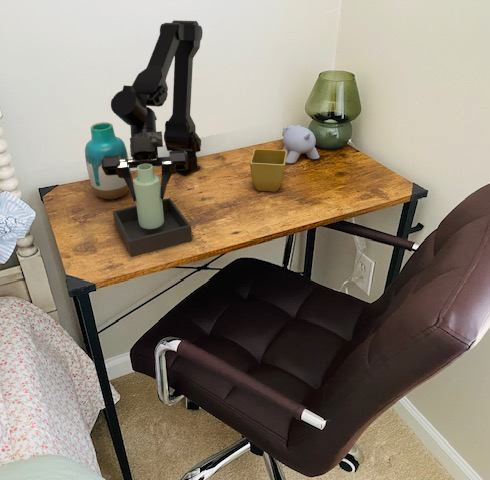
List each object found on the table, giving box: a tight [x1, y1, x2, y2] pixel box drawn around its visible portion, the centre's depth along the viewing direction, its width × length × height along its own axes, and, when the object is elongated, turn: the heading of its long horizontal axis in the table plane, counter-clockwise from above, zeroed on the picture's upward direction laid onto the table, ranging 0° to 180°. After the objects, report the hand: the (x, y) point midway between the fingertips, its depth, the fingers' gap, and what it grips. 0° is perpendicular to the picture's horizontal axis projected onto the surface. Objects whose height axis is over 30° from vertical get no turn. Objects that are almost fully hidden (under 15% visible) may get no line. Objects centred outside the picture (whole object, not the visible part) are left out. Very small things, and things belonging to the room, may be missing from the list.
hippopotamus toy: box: [281, 124, 320, 164], centre depth 143 cm, size 11×15×10 cm
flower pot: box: [249, 148, 287, 193], centre depth 127 cm, size 9×9×9 cm
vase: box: [84, 121, 130, 200], centre depth 124 cm, size 11×11×19 cm
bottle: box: [132, 163, 164, 229], centre depth 108 cm, size 6×6×14 cm
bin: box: [112, 197, 193, 258], centre depth 112 cm, size 14×14×4 cm
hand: (148, 200), depth 107 cm, fingers closed on bottle, 6 cm apart
